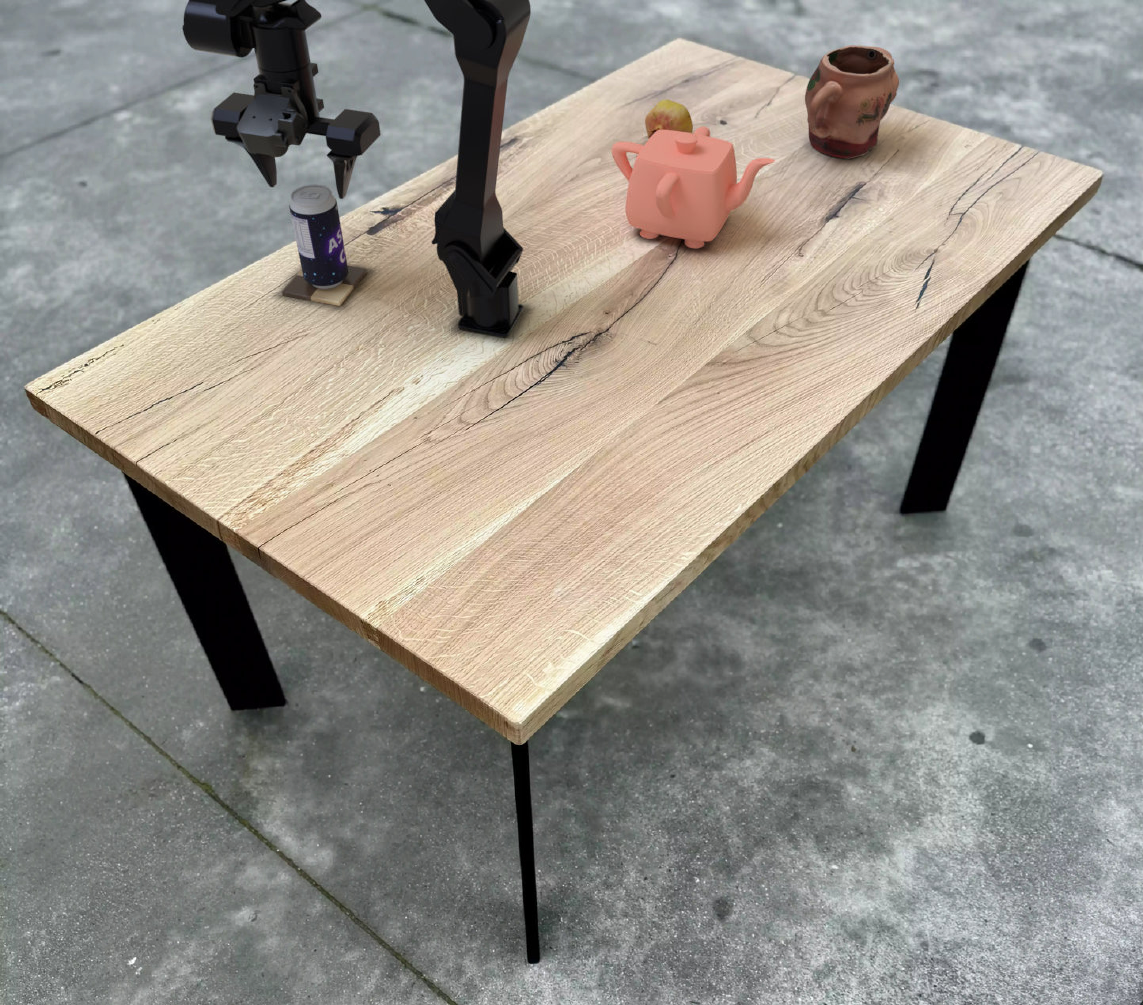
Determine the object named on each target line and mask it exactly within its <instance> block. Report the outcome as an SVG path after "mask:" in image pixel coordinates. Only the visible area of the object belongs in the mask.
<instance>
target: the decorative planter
mask: <svg viewBox="0 0 1143 1005" xmlns="http://www.w3.org/2000/svg"><path fill="white" fill-rule="evenodd" d="M899 86H900V77H899V75H898V74H897V72H896V69H895V60H894V58H893V56H892V53H891V52H889V51H888V50H887V49H884V48H882V47H880V46H866V45H853V44H851V45H847V46H843V47H840V48H836V49H833V50H831V51H828V52H827V53H826V54H824V55H823V56H822V57H821V59H820V61H819V63H818V66H817V67H816V68H815V70H814V72H813V73H812V75H811V77H810V78H809V80H808V83H807V85H806V89H805V93H804V103H805V109H806V113H807V118H806V119H807V124H808V125H807V126H808V139H809V144H810V146H811V147H812V148H813V149H815V150H816V151H817V152H821V153H822V154H824V155H827V156H832V157H835V158H841V159H855V158H858V157H861V156H864V155H866V154H868V153H869V152H870V151H871V150H872V149H873V148H875V147H876V146H877V144H878V138H879V130H880V126H881V122H882V120H883V119H884V118H885V116H886V115H887V113H888V112H889V109H890V106H891V104H892V102H894V100H895V99H896V97H897V92H898V90H899V89H898V88H899Z"/></svg>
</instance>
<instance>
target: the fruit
mask: <svg viewBox="0 0 1143 1005" xmlns="http://www.w3.org/2000/svg"><path fill="white" fill-rule="evenodd" d="M644 125H645V130H646V135H647V138H648V140H649V139H650V137H651V136H652V135H653V134H654V133H655V132H656V131H657V130H673V131H680V132H687V133H693V130H694V124H693V120H692V116H691V114H690V112H689V110H688V108H687V107H686V106H685V105H683V104H681V103H680V102H677V101H674V100H671V99H662V100H660V101H658V102H657V103H656V104H655V105H654V107H653V108H652V109H651V110H650V111H648V113H647V114H646V116H645V119H644Z"/></svg>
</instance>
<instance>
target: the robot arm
mask: <svg viewBox="0 0 1143 1005" xmlns="http://www.w3.org/2000/svg"><path fill="white" fill-rule="evenodd" d="M287 1H288V0H188V2H187V3H186V5H185V9H184V12H183V25H182V28H181V29H182V33H183V37H184V39H185V41H186V43H187V45H188V46H189V47H190V48H191V49H192V50H194V51H199V52H205V53H211V54H218V55H223V56H229V57H235V58H246V57H248V56H249V55H250V53H251V52H252V50H253V51H254V54H255V60H256V66H257V70H258V74H257V75H255V77H254V78H253V85H252V86H253V90H254V93H253V94H247V93H240V92H235V91H234V92H232V93H231V94H230V95H228V97H226V98H225V99H224V100H223V101H221V102H220V103H219V104H218V105H216V107H214V108H213V109H212V111H211V116H210V121H211V126H212V130H213V133H214V134H215V135H216V136H222V137H224V139H225V140H226V142H229V143H233V144H235V145H237V146H239V147H241V148H242V149H244V150H245V152H246V153H247V155H248V156H249V157H250V159H251V160H252V161H253V163H254V164H255V166H256V168H257V169H258V171H259V172H260V174H261V175H262V177H263V178H264V180H265V182H266V184H267V185H268V186H269V187H270V188H275V187H276V186H277V185H278V184H277V183H278V175H277V173H278V172H277V162H276V158H280V157H283V156H285V155H286V153H287V152H288V150H289V147H290V146H301V145H302V143H303V141H304V140H305V139H304V138H305V137H306V135H307V134H308V135H315V136H322V137H325V142H326V147H327V148H329V150H330V151H328V153H327V154H326V157H327V158H328V159H329V160H330V161H331V162H332V163H333V165H332V166H333V171H334V179H335V188H336V191H337V196H338V198H339V199H340V200H344V199H345V197H346V196H347V193H348V189H349V186H350V183H351V179H352V176H353V172H354V168H355V164H356V161H357V160H358V157H359V156H363V155H364V153H366V151H368V149H369V148H370V147H371V146H372V145H373V144H374V143H375V142H376V141H377V140H378V139H379V138H380V136H382V134H381V127H380V121H379V119H378V118H377V116H376V115H375V114H374V113H372V112H370V111H369V112H368V111H362V110H356V109H349V108H345V109H343V110H342V111H341V112H339V114H338V115H337V116H336V117H335V118H327V117H323V116H320V112H321V111H323V109H324V108H325V103H324V99H323V98H319V97H317V93H316V92H317V91H316V85H315V80H314V77H315V76H316V75H317V74H319V67H318V66H319V65H318V63H317V62H316V63H315V62H312V61H311V56H310V50H309V43H308V38H307V32H306V30H308V29H309V28H311V27H312V26H313V25H315V23H317V22H318V21H320V20H321V19H322V13H321V12H320V11H319V10H318V9H316V8H315V6H312V5H311V4H309V3H308V2H307V1H306V0H295V1H294V2H292V3H288V2H287ZM423 1H424V3H425V4H426V6H427V7H428V9H429V11H430V13H431V14H432V16H433V18H434V19H435V20H436V21H437V22H438V23H439V24H440V25H441V26H442V27H444V28H445V29H446V30H447V31H449V33H450V34H452V35H453V37H452V39H453V48H454V56H455V59H456V61H457V64H458V66H459V68H460V71H461V73H462V77H463V84H462V85H463V86H462V96H461V97H462V98H461V100H462V101H461V109H460V110H461V112H460V123H459V124H460V125H459V137H458V146H457V147H458V149H457V160H456V173H455V186H454V190H453V191H452V193H451V194H450V195H449V196H448V197H447V198H446V199H445V201H444V202H443V203H442V204H441V205H440V206H439V207H438V209H437V210H436V211H435V212H434V220H433V221H434V222H433V223H434V237H433V239H432V240H431V244H432V245H436V254H437V257H438V260H439V261H440V262H442V263H443V264H444V266H445V268H446V270H447V272H448V275H449V278H450V279H451V282H452V284H453V286H454V289H455V290H456V298H457V310H458V315H459V317H461V318H460V319H459V321H458V322H457V328H458V329H459V330H464V331H470V332H475V333H480V334H485V335H490V336H495V337H501V338H507V337H509V335H510V334H511V332H512V330H513V328H514V327H515V325H516V324H517V322H518V320H519V319H520V317H521V315H522V313H523V312H524V305H523V304H520V303H519V287H518V272H515V271H512V270H513V269H514V267H515V266H516V265H517V264H518V263H519V262H520V260H521V257H522V256H523V252H524V247H522V245H521V244H520V243H519V242H518V241H517V240H516V239H515V238H514V237H513V235H512V234H511V233H509V231H508V230H507V229H506V228H505V227H504V215H503V208H502V206H501V204H500V202H499V200H498V197H497V194H496V193H497V192H496V190H497V181H498V172H499V171H498V170H499V163H500V162H499V161H500V153H501V144H502V136H503V135H502V133H503V127H504V116H505V109H506V108H505V107H506V99H507V91H508V90H507V89H508V81H509V76H510V74H511V73H510V72H511V70H512V69H513V66H514V63H515V61H516V59H517V57H518V54H519V51H520V50H521V47H522V45H523V41H524V38H525V35H526V32H527V29H528V26H529V22H530V18H531V13H532V12H531V2H530V0H423Z"/></svg>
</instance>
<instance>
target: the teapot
mask: <svg viewBox="0 0 1143 1005" xmlns="http://www.w3.org/2000/svg"><path fill="white" fill-rule="evenodd" d="M710 130H711V129H710V128H708V127H707V126H700V127H698V128H696V129H695V131H694V132H692V133H687V132H680V131H673V130H657V131H656V132H655V133H654V134H653V135H652V136H651V137H650V139H649V138H648V140H646V142H645V143H644V144H641V143H636V142H632V141H624V140H623V141H617V142H615V143H613V145H612V147H611V155H612V159H613V161H614V163H615V164H616V166H617V168H618V169H619V171H620V172H621V174H622V175H623V176H624V178H625V179H626V181H627V182H628V186H627V192H626V198H625V210H624V211H625V215H626V220H627V222H628V224H629V225H630V226H632V227H633V228H637V229H638V230H639V229H640V232H639V235H640V236H641V237H642V238H643V239H648V240H653V239H656V238H658V237H659V236H660V235H661V236H665V237H670V238H675V239H681V240H684V245H685V247H688V248H690V249H700V248H703V247H704V246H705V242H712V241H714V240H715V238H716V237H717V236H718V234H719V232H720V231H721V230H722V228H723V227H724V225H725V224H726V221H727V220H728V218H729V216H730V214H731V212H732V211H734V210H737V209H739V207H741V206H742V205H743V204H744V203H745V202H746V201H747V199H748V197H749V195H750V193H751V191H752V188H753V185H754V182H755V179H756V176H757V174H758V173H759V172H760V171H761V169H763V168H764V167H766V166H768V165H771V164H773V163H775V162H776V160H775V159H773V158H769V157H760V158H759V157H758V158H754V159H751V161H750V162H748V164H747V165H746V167H745V169H744V171H743V174H742V177H741V179H740V181H738V171H737V170H738V169H737V160H736V153H735V148H734V144H733V143H732V142H730V141H728V140H724V139H721V138H716V137H712V136H711V131H710ZM627 153H633V154H636V155H637V156H636V158H635V161H634V164H633V167H632V165H631V163H630V161H629V158H628V155H627Z"/></svg>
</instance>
